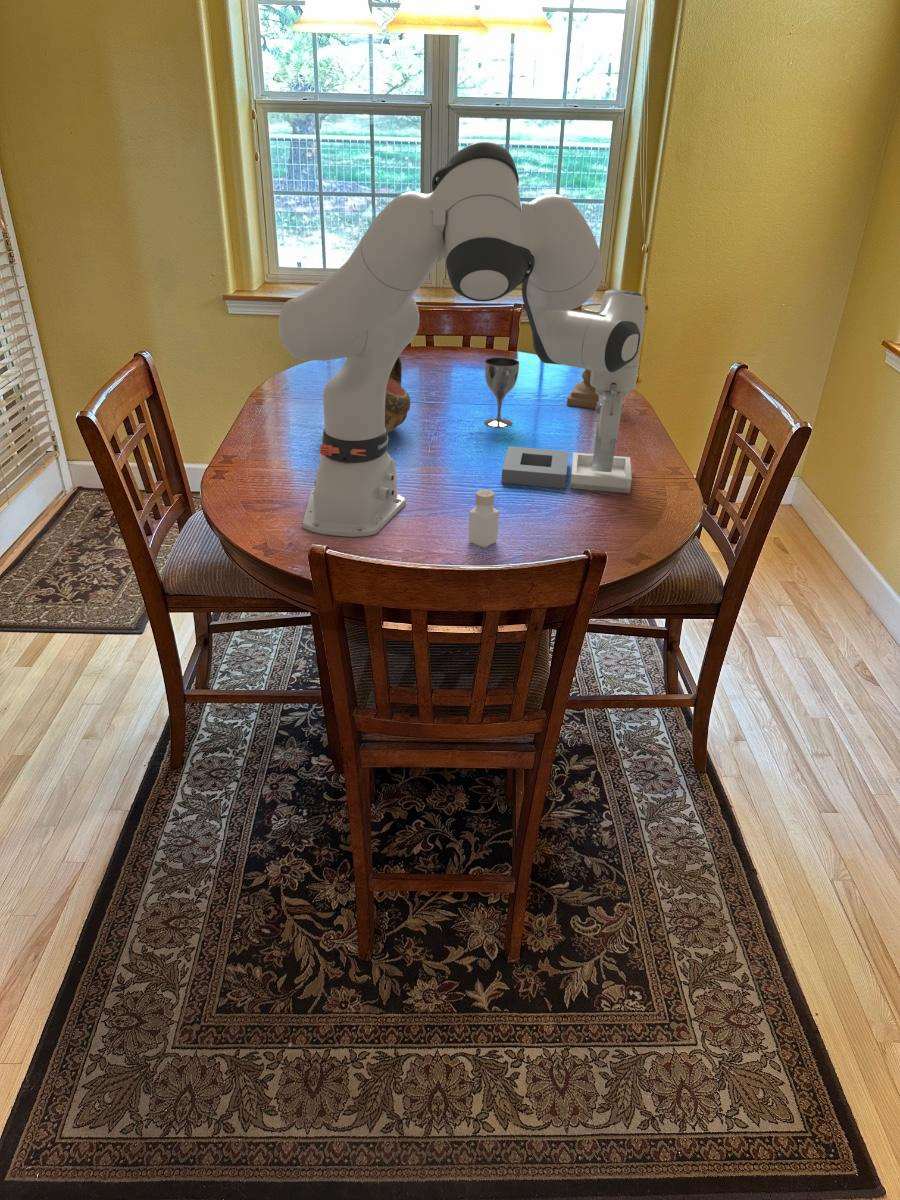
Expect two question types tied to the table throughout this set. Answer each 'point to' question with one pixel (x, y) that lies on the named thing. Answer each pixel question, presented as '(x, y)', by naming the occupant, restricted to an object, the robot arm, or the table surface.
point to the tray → (601, 474)
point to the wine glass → (500, 384)
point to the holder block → (535, 467)
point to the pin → (602, 457)
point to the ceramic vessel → (395, 399)
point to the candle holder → (585, 376)
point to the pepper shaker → (483, 520)
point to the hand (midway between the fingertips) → (604, 444)
